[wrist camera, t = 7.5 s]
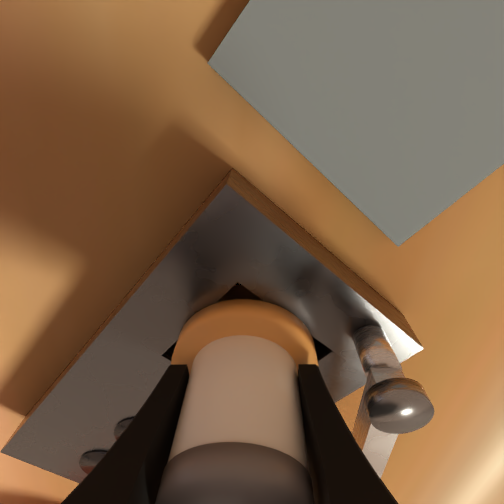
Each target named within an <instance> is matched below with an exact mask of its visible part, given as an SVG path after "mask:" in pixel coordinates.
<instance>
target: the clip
mask: <svg viewBox="0 0 504 504" xmlns="http://www.w3.org/2000/svg"><path fill="white" fill-rule="evenodd" d="M353 342H354V345H355V348H356V351H357V353H358V356H359V359H360V362H361V365H362V368H363V371H364V373H365V376H366V378H367V381H366V384H365V388H364V392H363V395H362V399H361V403H360V406H359V410H358V414H357V417H356V421H355V424H354V428H353V432H352V435H353V437H354V439H355V440H356V442H357V444H358V445H359V447H360V448H361V450H362V452H363V453H364V455H365V456H366V458H367V459H368V461H369V463H370V464H371V466H372V467H373V469H374V470H375V472H376V473H377V474H378V476H379V477H380V479H381V476H382V474H383V471H384V469H385V466H386V464H387V461H388V459H389V456H390V454H391V451H392V449H393V446H394V444H395V441H396V439H397V436H398V434H403V433H408V432H412V431H415V430H418V429H420V428H422V427H423V426H425V425H426V424H427V423H429V422H430V420H431V419H432V417H433V415H434V408H433V406H432V404H431V402H430V400H429V398H428V396H427V394H426V392H425V390H424V388H423V387H422V385H421V384H420V383H418V382H417V381H415V380H412V379H409V378H405V376H404V374H403V372H402V367H401V365H400V363H399V361H398V359H397V357H396V355H395V353H394V351H393V349H392V347H391V344H390V342H389V340H388V338H387V336H386V334H385V332H384V330H383V329H382V328H380V327H378V326H373V325H369V326H364V327H362V328H360V329H358V330H357V331H356V332H355V334H354V335H353Z"/></svg>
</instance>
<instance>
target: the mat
mask: <svg viewBox="0 0 504 504" xmlns="http://www.w3.org/2000/svg"><path fill="white" fill-rule="evenodd" d="M208 64H209V65H210V66H211V67H212V68H213V69H214V70H215V71H216V72H217V73H218V74H219V75H220V76H221V77H222V78H223V79H224V80H225V81H226V82H227V83H228V84H230V85H231V86H232V87H233V88H234V89H235V90H236V91H237V92H238V93H239V94H240V95H241V96H242V97H243V98H244V99H245V100H246V101H247V102H248V103H249V104H250V105H251V106H252V107H253V108H254V109H256V110H257V111H258V112H259V113H260V114H261V115H262V116H263V117H264V118H265V119H266V120H267V121H268V122H269V123H270V124H271V125H272V126H273V127H274V128H275V129H276V130H277V131H278V132H279V133H280V134H281V135H283V136H284V137H285V138H286V139H287V140H288V141H289V142H290V143H291V144H292V145H293V146H294V147H295V148H296V149H297V150H298V151H299V152H300V153H301V154H302V155H303V156H304V157H305V158H306V159H307V160H309V161H310V162H311V163H312V164H313V165H314V166H315V167H316V168H317V169H318V170H319V171H320V172H321V173H322V174H323V175H324V176H325V177H326V178H327V179H328V180H329V181H330V182H331V183H332V184H333V185H334V186H336V187H337V188H338V189H339V190H340V191H341V192H342V193H343V194H344V195H345V196H346V197H347V198H348V199H349V200H350V201H351V202H352V203H353V204H354V205H355V206H356V207H357V208H358V209H359V210H360V211H361V212H363V213H364V214H365V215H366V216H367V217H368V218H369V219H370V220H371V221H372V222H373V223H374V224H375V225H376V226H377V227H378V228H379V229H380V230H381V231H382V232H383V233H384V234H385V235H386V236H387V237H389V238H390V239H391V240H392V241H393V242H394V243H395V244H396V245H397V246H400V245H401V244H402V243H403V242H405V241H406V240H407V239H408V238H410V237H411V236H412V235H414V234H415V233H416V232H417V231H419V230H420V229H421V228H422V227H424V226H425V225H426V224H428V223H429V222H430V221H431V220H433V219H434V218H435V217H436V216H438V215H439V214H440V213H442V212H443V211H444V210H445V209H447V208H448V207H449V206H450V205H452V204H453V203H454V202H456V201H457V200H458V199H459V198H461V197H462V196H463V195H464V194H466V193H467V192H468V191H470V190H471V189H472V188H473V187H475V186H476V185H477V184H478V183H480V182H481V181H482V180H484V179H485V178H486V177H487V176H489V175H490V174H491V173H492V172H494V171H495V170H496V169H498V168H499V167H500V166H501V165H503V164H504V0H250V1H249V2H248V4H247V5H246V7H245V8H244V10H243V11H242V13H241V14H240V16H239V17H238V19H237V20H236V22H235V23H234V25H233V26H232V27H231V29H230V30H229V32H228V33H227V35H226V36H225V38H224V39H223V41H222V42H221V44H220V45H219V47H218V48H217V50H216V51H215V53H214V54H213V56H212V57H211V59H210V60H209V62H208Z"/></svg>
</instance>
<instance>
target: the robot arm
mask: <svg viewBox="0 0 504 504" xmlns="http://www.w3.org/2000/svg"><path fill="white" fill-rule="evenodd" d="M188 380H189V371H188V366H187V364H171V365H170V366H169V367H168V368H167V370H166V371H165V373H164V374H163V376H162V377H161V379H160V381H159V382H158V384H157V385H156V387H155V388H154V390H153V391H152V393H151V394H150V396H149V397H148V399H147V400H146V401H145V403H144V404H143V406H142V407H141V408H140V410H139V411H138V413H137V414H136V415H135V417H134V418H133V420H132V421H131V422H130V424H129V425H128V426H127V428H126V429H125V430H124V431H123V433H122V434H121V435H120V436H119V438H118V439H117V440H116V442H115V443H114V444H113V445H112V447H111V448H110V449H109V450H108V452H107V453H106V454H105V455H104V456H103V458H102V459H101V460H100V461H99V462H98V464H97V465H96V466H95V467H94V468H93V469H92V470H91V472H90V473H89V474H88V475H87V476H86V477H85V478H84V479H83V481H82V482H81V483H80V484H79V485H78V486H77V487H76V488H75V489H74V490H73V491H72V492H71V493H70V494H69V495H68V497H67V498H66V499H65V500H64V501H63V502H62V503H61V504H155V502H156V498H157V494H158V490H159V487H160V483H161V479H162V475H163V471H164V468H165V466H166V465H167V463H168V459H169V455H170V451H171V447H172V443H173V439H174V435H175V431H176V428H177V424H178V420H179V416H180V412H181V408H182V404H183V400H184V396H185V392H186V388H187V384H188ZM298 383H299V391H300V400H301V408H302V417H303V425H304V434H305V442H306V451H307V459H308V468H309V474H310V476H311V479H312V486H313V494H314V502H315V504H398V502H397V501H396V500H395V498H394V497H393V496H392V494H391V493H390V492H389V490H388V489H387V487H386V486H385V485H384V483H383V482H382V480H381V479H380V477H379V476H378V474H377V473H376V472H375V470H374V469H373V467H372V466H371V464H370V463H369V461H368V459H367V458H366V456H365V455H364V453H363V452H362V450H361V448H360V447H359V445H358V444H357V442H356V440H355V439H354V437H353V435H352V434H351V432H350V430H349V429H348V427H347V425H346V423H345V421H344V420H343V418H342V416H341V414H340V412H339V410H338V409H337V407H336V405H335V403H334V401H333V399H332V397H331V395H330V393H329V391H328V389H327V386H326V384H325V382H324V380H323V377H322V375H321V372H320V370H319V367H318V366H317V365H316V364H298Z"/></svg>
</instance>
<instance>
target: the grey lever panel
mask: <svg viewBox="0 0 504 504" xmlns="http://www.w3.org/2000/svg"><path fill="white" fill-rule="evenodd" d="M237 282H238V283H240V284H241V285H242V286H244V287H245V288H247V289H248V290H249V291H251V292H252V293H254V294H255V295H256V296H258V297H259V298H260V299H262V300H263V301H265V302H268V303H271V304H274V305H277V306H280V307H282V308H284V309H286V310H288V311H289V312H291V313H292V314H294V315H295V316H296V317H297V318H299V319H300V320H301V321H302V322H303V323H304V324H305V326H306V327H307V328H308V330H309V331H310V333H311V336H312V338H313V341H314V345H315V350H316V356H317V361H318V366H319V370H320V372H321V375H322V377H323V380H324V382H325V384H326V386H327V389H328V391H329V393H330V395H331V397H332V399H333V401H334V403H336V402H337V401H339V400H340V399H342V398H344V397H345V396H347V395H349V394H350V393H352V392H354V391H355V390H357V389H358V388H360V387H362V386H363V385H365V384H366V381H367V378H366V376H365V373H364V371H363V368H362V365H361V362H360V359H359V356H358V353H357V351H356V348H355V345H354V342H353V335H354V334H355V332H356V331H357V330H358V329H360V328H362V327H364V326H369V325H373V326H378V327H380V328H382V329H383V330H384V332H385V334H386V336H387V338H388V340H389V342H390V344H391V347H392V349H393V351H394V353H395V355H396V357H397V359H398V361H399V363H401V362H403V361H404V360H406V359H408V358H409V357H411V356H413V355H414V354H416V353H418V352H419V351H421V350H423V349H424V348H423V347H422V345H421V343H420V342H419V340H418V339H417V337H416V335H415V334H414V332H413V330H412V329H411V327H410V325H409V324H408V322H407V320H406V319H405V317H404V315H403V314H401V313H400V312H399V311H398V310H397V309H396V308H394V307H393V306H392V305H391V304H390V303H389V302H387V301H386V300H385V299H384V298H383V297H382V296H380V295H379V294H378V293H377V292H376V291H375V290H373V289H372V288H371V287H370V286H369V285H368V284H367V283H365V282H364V281H363V280H362V279H361V278H360V277H358V276H357V275H356V274H355V273H354V272H353V271H351V270H350V269H349V268H348V267H347V266H346V265H344V264H343V263H342V262H341V261H340V260H339V259H338V258H336V257H335V256H334V255H333V254H332V253H331V252H329V251H328V250H327V249H326V248H325V247H324V246H322V245H321V244H320V243H319V242H318V241H317V240H315V239H314V238H313V237H312V236H311V235H310V234H309V233H307V232H306V231H305V230H304V229H303V228H302V227H300V226H299V225H298V224H297V223H296V222H295V221H293V220H292V219H291V218H290V217H289V216H288V215H286V214H285V213H284V212H283V211H282V210H281V209H280V208H278V207H277V206H276V205H275V204H274V203H273V202H271V201H270V200H269V199H268V198H267V197H266V196H264V195H263V194H262V193H261V192H260V191H259V190H257V189H256V188H255V187H254V186H253V185H252V184H250V183H249V182H248V181H247V180H246V179H245V178H244V177H242V176H241V175H240V174H239V173H238V172H237V171H235V170H234V169H233V168H232V169H231V170H230V172H229V173H228V174H227V175H226V176H225V178H224V179H223V180H222V181H221V182H220V184H219V185H218V186H217V187H216V188H215V190H214V191H213V192H212V193H211V194H210V196H209V197H208V198H207V199H206V200H205V202H204V203H203V204H202V205H201V206H200V208H199V209H198V210H197V211H196V212H195V214H194V215H193V216H192V217H191V218H190V220H189V221H188V222H187V223H186V224H185V226H184V227H183V228H182V229H181V230H180V232H179V233H178V234H177V235H176V236H175V238H174V239H173V240H172V241H171V242H170V244H169V245H168V246H167V247H166V248H165V250H164V251H163V252H162V253H161V254H160V256H159V257H158V258H157V259H156V260H155V262H154V263H153V264H152V265H151V266H150V268H149V269H148V270H147V271H146V272H145V274H144V275H143V276H142V277H141V279H140V280H139V281H138V282H137V283H136V285H135V286H134V287H133V288H132V289H131V291H130V292H129V293H128V294H127V295H126V297H125V298H124V299H123V300H122V301H121V303H120V304H119V305H118V306H117V307H116V309H115V310H114V311H113V312H112V313H111V315H110V316H109V317H108V318H107V319H106V321H105V322H104V323H103V324H102V325H101V327H100V328H99V329H98V330H97V331H96V333H95V334H94V335H93V336H92V337H91V339H90V340H89V341H88V342H87V343H86V345H85V346H84V347H83V348H82V349H81V351H80V352H79V353H78V354H77V355H76V357H75V358H74V359H73V360H72V361H71V363H70V364H69V365H68V366H67V367H66V369H65V370H64V371H63V372H62V373H61V375H60V376H59V377H58V378H57V379H56V381H55V382H54V383H53V384H52V385H51V387H50V388H49V389H48V390H47V391H46V393H45V394H44V395H43V396H42V397H41V399H40V400H39V401H38V402H37V403H36V405H35V406H34V407H33V408H32V409H31V411H30V412H29V413H28V414H27V415H26V417H25V418H24V419H23V421H22V422H21V424H20V425H19V426H18V428H17V429H16V430H15V432H14V433H13V435H12V436H11V437H10V439H9V440H8V442H7V443H6V444H5V446H4V447H3V449H2V450H1V451H0V452H1V453H4V454H6V455H9V456H11V457H14V458H16V459H19V460H21V461H24V462H27V463H29V464H32V465H34V466H37V467H39V468H42V469H44V470H47V471H49V472H52V473H55V474H57V475H60V476H62V477H65V478H67V479H70V480H72V481H75V482H77V483H81V482H82V481H83V479H84V478H85V477H86V476H87V475H88V474H89V473H90V472H91V470H92V469H93V468H94V467H95V466H96V465H97V464H98V462H99V461H100V460H101V459H102V458H103V456H104V455H105V454H106V453H107V452H108V450H109V449H110V448H111V447H112V445H113V444H114V443H115V442H116V440H117V439H118V438H119V436H120V435H121V434H122V433H123V431H124V430H125V429H126V428H127V426H128V425H129V424H130V422H131V421H132V420H133V418H134V417H135V415H136V414H137V413H138V411H139V410H140V408H141V407H142V406H143V404H144V403H145V401H146V400H147V399H148V397H149V396H150V394H151V393H152V391H153V390H154V388H155V387H156V385H157V384H158V382H159V381H160V379H161V377H162V376H163V374H164V373H165V371H166V370H167V368H168V367H169V366H170V365H171V360H172V355H173V352H174V349H175V346H176V343H177V340H178V337H179V335H180V332H181V330H182V328H183V326H184V325H185V323H186V322H187V321H188V320H189V319H190V318H191V317H192V316H193V315H194V314H195V313H197V312H198V311H200V310H202V309H203V308H205V307H208V306H210V305H212V304H215V303H216V302H217V301H218V300H220V299H221V298H222V297H223V296H224V295H225V294H226V293H227V292H228V291H229V290H230V289H231V288H232V287H233V286H234V285H235V284H236V283H237Z"/></svg>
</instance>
